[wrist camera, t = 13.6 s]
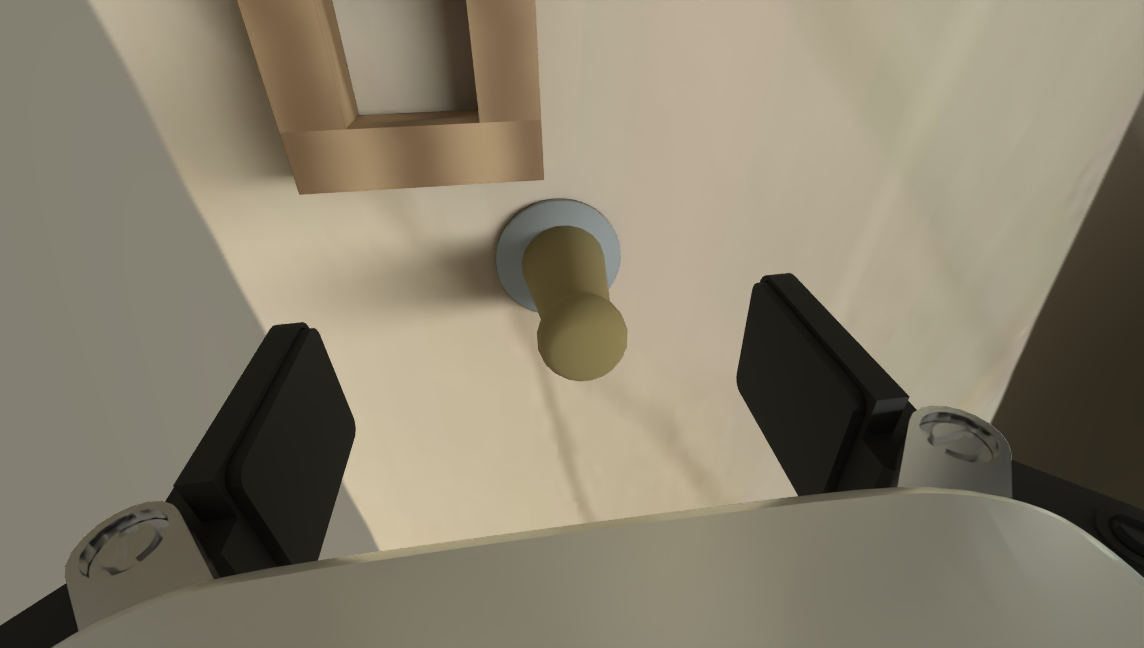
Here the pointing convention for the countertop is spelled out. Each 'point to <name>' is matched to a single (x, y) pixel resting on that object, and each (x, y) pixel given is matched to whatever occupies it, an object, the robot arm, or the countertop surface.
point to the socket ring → (398, 141)
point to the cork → (573, 304)
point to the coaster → (542, 219)
